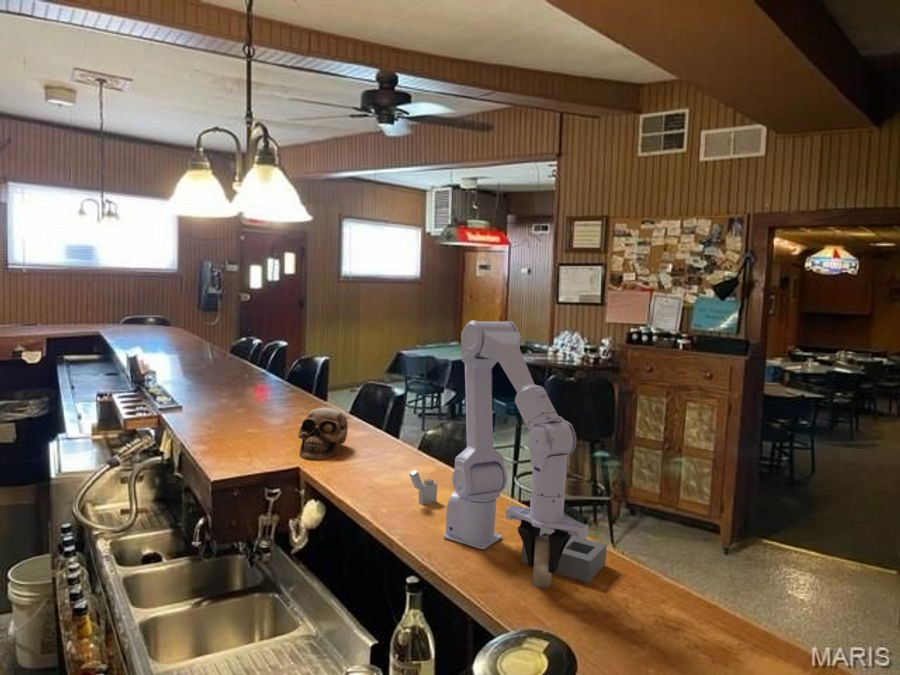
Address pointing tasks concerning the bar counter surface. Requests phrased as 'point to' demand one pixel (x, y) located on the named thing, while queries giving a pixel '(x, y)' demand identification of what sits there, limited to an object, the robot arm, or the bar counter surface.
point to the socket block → (577, 557)
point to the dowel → (541, 563)
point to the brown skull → (322, 433)
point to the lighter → (424, 488)
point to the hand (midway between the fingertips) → (542, 567)
